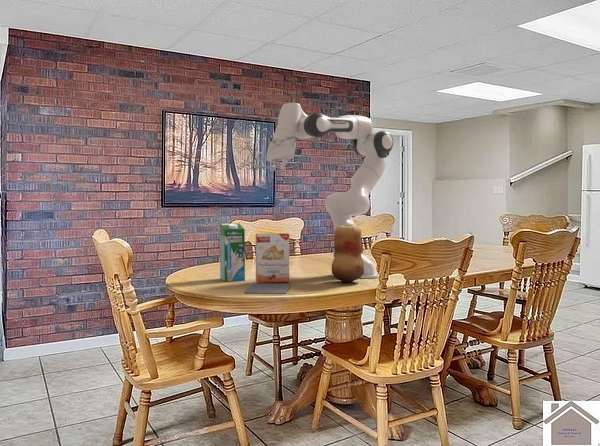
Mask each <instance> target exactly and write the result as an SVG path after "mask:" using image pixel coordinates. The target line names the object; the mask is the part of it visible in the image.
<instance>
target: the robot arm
mask: <svg viewBox="0 0 600 446" xmlns="http://www.w3.org/2000/svg"><path fill="white" fill-rule="evenodd" d="M329 133H335V135H336V137H338V138H339V139H344V140H352V148H353V152H354V153H355V154H356V156H360V157H365V159H364V161H363V163H362V164H361V165H360V166H359V168H358V169H357V170H356V171H355V172H354V173H353V176H351V178H350V188H349V189H348V190H347V191H339V192H338V191H337V192H334V193H331V194H329V195H328V196H327V197H326V198H325V201H324V207H325V210H326V211H327V212H328V214H329V215H330V218H331V220H332V224H333V230H334V232H335V230H336V228H337V227H338V226H340V225H344V224H355V222H354V220H353V217H357V216H362V215H365V214H366V213H367V212H368V211H369V209H370V205H371V202H370V198H369V196H370V194H371V192H372V190H373V189H374V187H375V186H376V185H377V183H378V182H379V180H381V177H382V176H383V174H384V172H385V170H386V167H387V161H386V160H385V159H386V158H387V157H388V156H389V155H390V153H391V152H392V150H393V147H394V138H393V135H392V134H391V133H390V132H388V131H385V130H379V131H373V122H372V120H371V119H370V118H369V117H367V116H364V115H363V116H362V115H357V114H346V115H341V116H338V117H330V116H327V115H325V114H323V113H321V112H314V113H311V114H308V115H307V114H306V113H305V112H304V110H303V109H302V107H301V104H300V103H298V102H295V101H292V102H291V101H289V102H285V103H283V104H282V106H281V108H280V111H279V113H278V118H277V126H276V128H275V131H274V133H273V135H272V136H271V137H270V138H269V140H268V148H267V151H266V161H267V162H269V171H270V172H275V170H276V163H278V162H281V164H279V170H286V166H287V163H288V162H289V160H292V159H294V157H295V154H296V149H297V142H296V138H297V139H298V140H307V139H313V138H320V137H324V136H326V135H327V134H329ZM364 251H365V248H364V247H363V246H362V251H361V256H362V259H363V263H364V274H363V275H362V276H361V277H360V278H359V279H376V278H377V279H378V278H379V277H378V275H377V272H378V271H376V267H375V263H374V262H373V261H372V259H370V258H369V257H368V256H366V255H365V254H363V252H364ZM334 257H335V245H333V258H334ZM330 276H332V277H334V275H333V274H332V273H331V274H330Z"/></svg>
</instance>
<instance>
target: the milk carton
mask: <svg viewBox="0 0 600 446" xmlns="http://www.w3.org/2000/svg"><path fill="white" fill-rule="evenodd" d="M245 233H246V231H245V228H244V227H243V226H242V224H240V223H239V222H237V223H236V222H235V223H226V222H225V223H219V260H220V261H219V262H220V263H219V264H220V265H219V267H220V268H219V272H220V273H219V274H220V275H219V277H220V280H221V281H223V282H240V281H242V280H243V281H246V248H245V247H246V246H245V245H246V243H245V242H246V241H245V240H246V238H245V235H246V234H245ZM243 281H242V282H243Z"/></svg>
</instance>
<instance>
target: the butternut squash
mask: <svg viewBox="0 0 600 446" xmlns="http://www.w3.org/2000/svg"><path fill="white" fill-rule="evenodd" d="M333 239H334V240H333V243H334V245H335V257H334V256H333V260H332V263H331V274H333V275H334V276H333V277H334V278H335V279H336V280H338V281H341V282H343V283H353V282H354V281H357V280H359V279H361V278H360V277H361V276H362V275H363V274H364V263H363V259H362V256H361V251H362V247H363V245H362V230H361V228H360V226H359V225H357V224H356V223H354V224H344V225H340V226H338V227H337V228H336V230H335V231H334V238H333ZM334 245H333V246H334Z"/></svg>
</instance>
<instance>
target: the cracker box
mask: <svg viewBox="0 0 600 446" xmlns="http://www.w3.org/2000/svg"><path fill="white" fill-rule="evenodd" d="M255 283H290V233H284V232H283V233H276V232H275V233H272V232H271V233H270V232H269V233H265V232H264V233H255Z"/></svg>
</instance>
